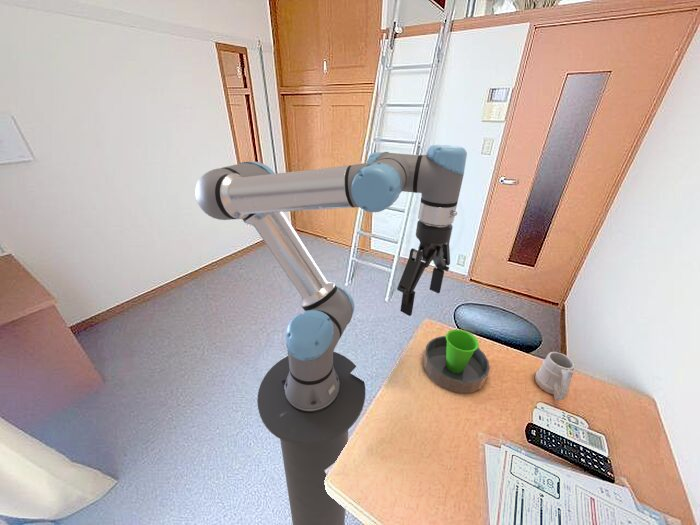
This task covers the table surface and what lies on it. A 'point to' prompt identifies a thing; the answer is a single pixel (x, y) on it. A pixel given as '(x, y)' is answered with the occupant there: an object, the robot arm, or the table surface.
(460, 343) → the cup
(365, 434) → the table surface
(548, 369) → the mug
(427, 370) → the pan
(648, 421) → the table surface
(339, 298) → the robot arm
